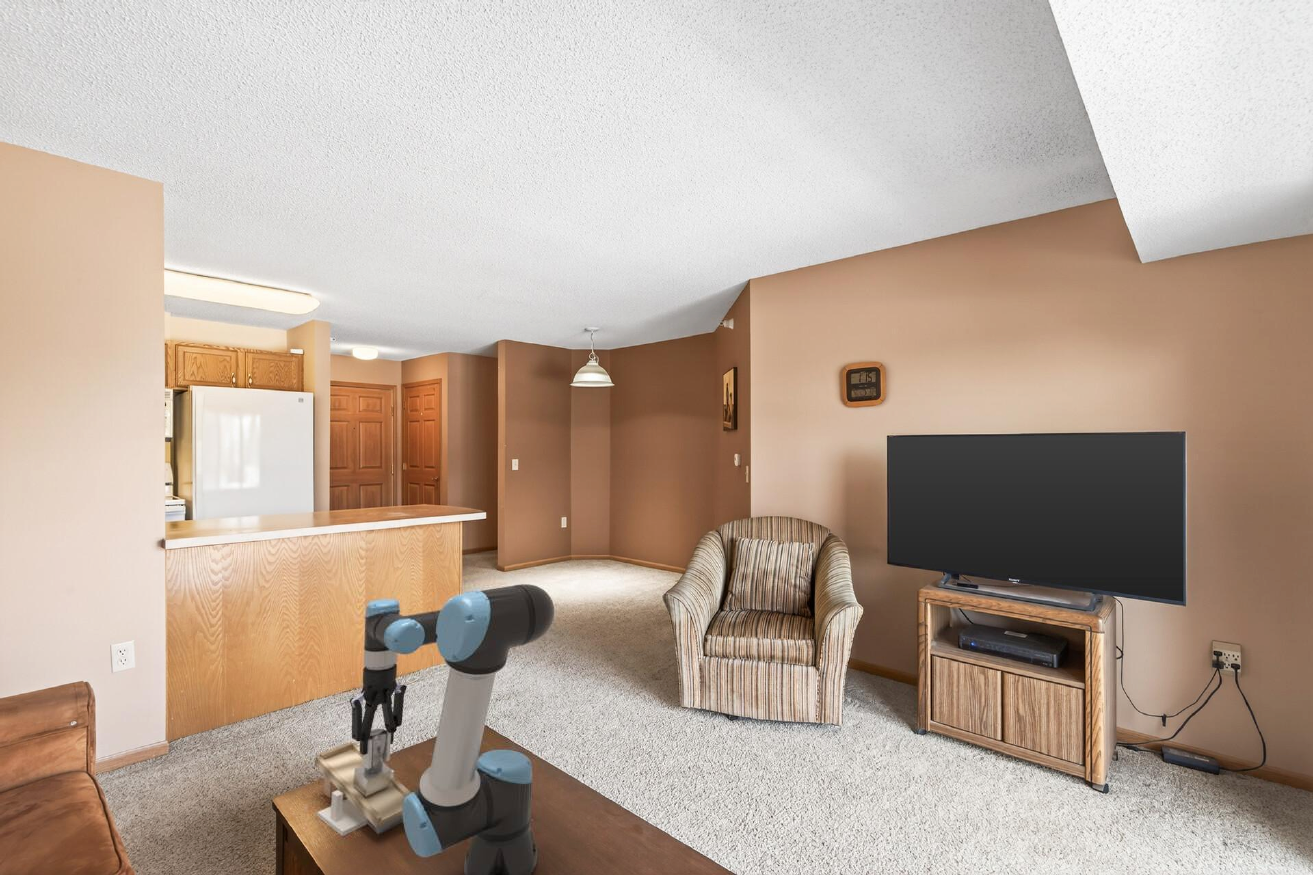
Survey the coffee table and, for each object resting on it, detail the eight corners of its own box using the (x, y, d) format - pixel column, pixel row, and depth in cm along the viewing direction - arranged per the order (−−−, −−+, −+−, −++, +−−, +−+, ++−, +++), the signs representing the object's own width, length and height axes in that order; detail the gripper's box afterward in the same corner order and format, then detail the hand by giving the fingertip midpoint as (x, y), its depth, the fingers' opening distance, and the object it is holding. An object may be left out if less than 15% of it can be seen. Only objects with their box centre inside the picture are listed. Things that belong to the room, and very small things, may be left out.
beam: (416, 816, 142) (419, 795, 142) (373, 838, 134) (376, 816, 133) (353, 758, 160) (356, 739, 159) (312, 774, 151) (314, 755, 151)
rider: (389, 785, 145) (396, 734, 145) (365, 796, 140) (372, 743, 140) (376, 773, 149) (383, 723, 148) (352, 784, 144) (359, 732, 143)
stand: (406, 804, 149) (407, 776, 150) (342, 836, 136) (343, 805, 137) (363, 776, 161) (365, 750, 162) (300, 803, 148) (302, 774, 149)
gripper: (404, 652, 154) (400, 744, 153) (337, 670, 140) (332, 771, 139) (420, 659, 150) (417, 753, 149) (353, 678, 136) (348, 782, 135)
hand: (376, 762), depth 144 cm, fingers closed on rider, 4 cm apart
